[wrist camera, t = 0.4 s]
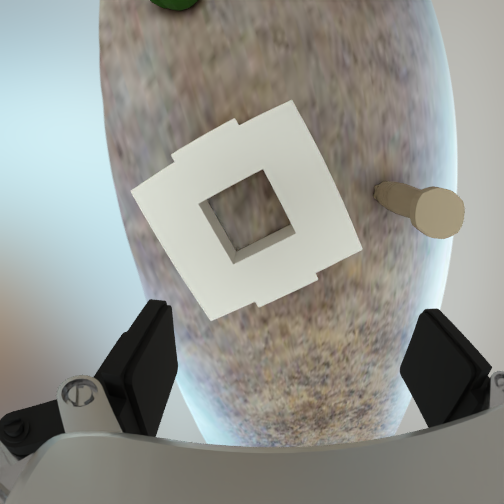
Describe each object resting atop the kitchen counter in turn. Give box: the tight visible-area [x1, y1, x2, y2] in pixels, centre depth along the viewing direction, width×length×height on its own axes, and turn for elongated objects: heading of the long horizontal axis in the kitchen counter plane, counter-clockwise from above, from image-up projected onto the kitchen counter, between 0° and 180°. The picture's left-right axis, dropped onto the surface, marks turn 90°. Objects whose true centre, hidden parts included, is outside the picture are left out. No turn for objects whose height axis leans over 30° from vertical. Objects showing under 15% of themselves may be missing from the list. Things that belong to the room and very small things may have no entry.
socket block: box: [131, 100, 362, 321], centre depth 36 cm, size 22×22×5 cm
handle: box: [373, 181, 465, 239], centre depth 30 cm, size 5×6×15 cm
